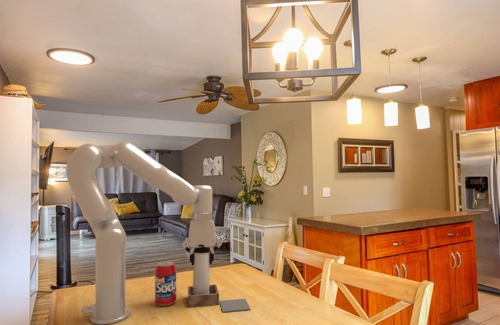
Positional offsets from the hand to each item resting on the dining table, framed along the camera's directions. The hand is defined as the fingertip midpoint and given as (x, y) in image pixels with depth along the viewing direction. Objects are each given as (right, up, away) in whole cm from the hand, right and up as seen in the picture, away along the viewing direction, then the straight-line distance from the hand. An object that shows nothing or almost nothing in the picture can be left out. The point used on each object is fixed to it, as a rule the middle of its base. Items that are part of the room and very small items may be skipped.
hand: (201, 263), depth 127 cm
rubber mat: (+13, -14, -6) cm, 20 cm away
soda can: (-13, -15, -3) cm, 20 cm away
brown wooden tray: (+1, -14, 0) cm, 14 cm away
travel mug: (0, -12, -1) cm, 12 cm away
